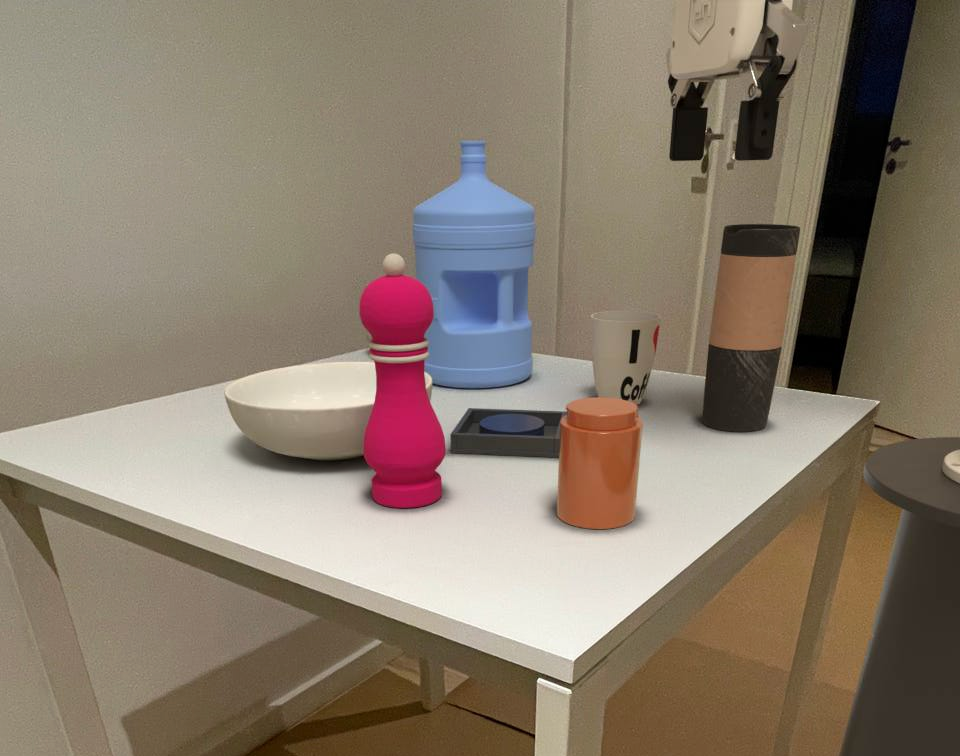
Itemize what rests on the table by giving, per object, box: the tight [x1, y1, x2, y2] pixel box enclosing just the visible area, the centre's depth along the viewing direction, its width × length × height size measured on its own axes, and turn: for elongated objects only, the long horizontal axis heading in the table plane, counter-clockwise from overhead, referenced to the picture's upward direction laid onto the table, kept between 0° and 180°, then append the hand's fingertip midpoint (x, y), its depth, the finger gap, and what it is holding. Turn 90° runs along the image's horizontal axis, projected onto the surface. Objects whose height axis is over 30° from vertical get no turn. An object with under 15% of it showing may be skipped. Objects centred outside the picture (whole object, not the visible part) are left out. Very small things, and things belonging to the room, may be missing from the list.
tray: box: [450, 407, 567, 459], centre depth 90 cm, size 11×10×2 cm
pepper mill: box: [358, 253, 447, 509], centre depth 71 cm, size 7×7×20 cm
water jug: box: [412, 140, 536, 389], centre depth 109 cm, size 16×16×28 cm
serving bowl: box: [223, 361, 433, 461], centre depth 87 cm, size 21×21×7 cm
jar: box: [556, 397, 644, 530], centre depth 69 cm, size 7×7×9 cm
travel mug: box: [701, 223, 801, 433], centre depth 90 cm, size 8×8×20 cm
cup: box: [590, 310, 662, 406], centre depth 101 cm, size 8×8×10 cm
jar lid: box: [479, 414, 544, 436], centre depth 89 cm, size 7×7×2 cm
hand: (717, 160), depth 71 cm, fingers open, 9 cm apart
